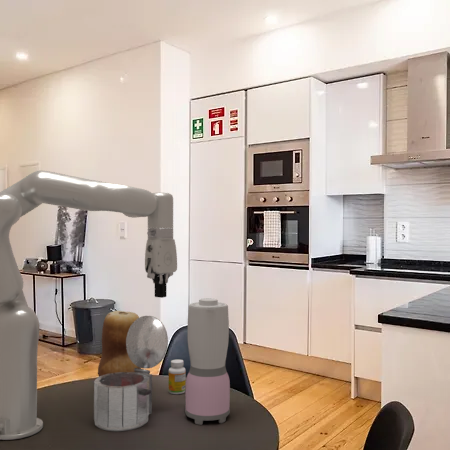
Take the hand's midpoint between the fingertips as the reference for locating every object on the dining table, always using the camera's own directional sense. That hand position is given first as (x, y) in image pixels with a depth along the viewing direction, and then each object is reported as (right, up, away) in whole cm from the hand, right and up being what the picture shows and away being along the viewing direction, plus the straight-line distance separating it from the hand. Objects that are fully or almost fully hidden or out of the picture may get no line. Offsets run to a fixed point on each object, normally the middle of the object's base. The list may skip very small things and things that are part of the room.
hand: (160, 296), depth 147 cm
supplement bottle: (+4, -32, +10) cm, 34 cm away
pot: (-9, -31, -14) cm, 35 cm away
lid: (-4, -12, -6) cm, 14 cm away
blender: (+14, -32, -9) cm, 36 cm away
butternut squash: (-15, -32, +11) cm, 36 cm away
